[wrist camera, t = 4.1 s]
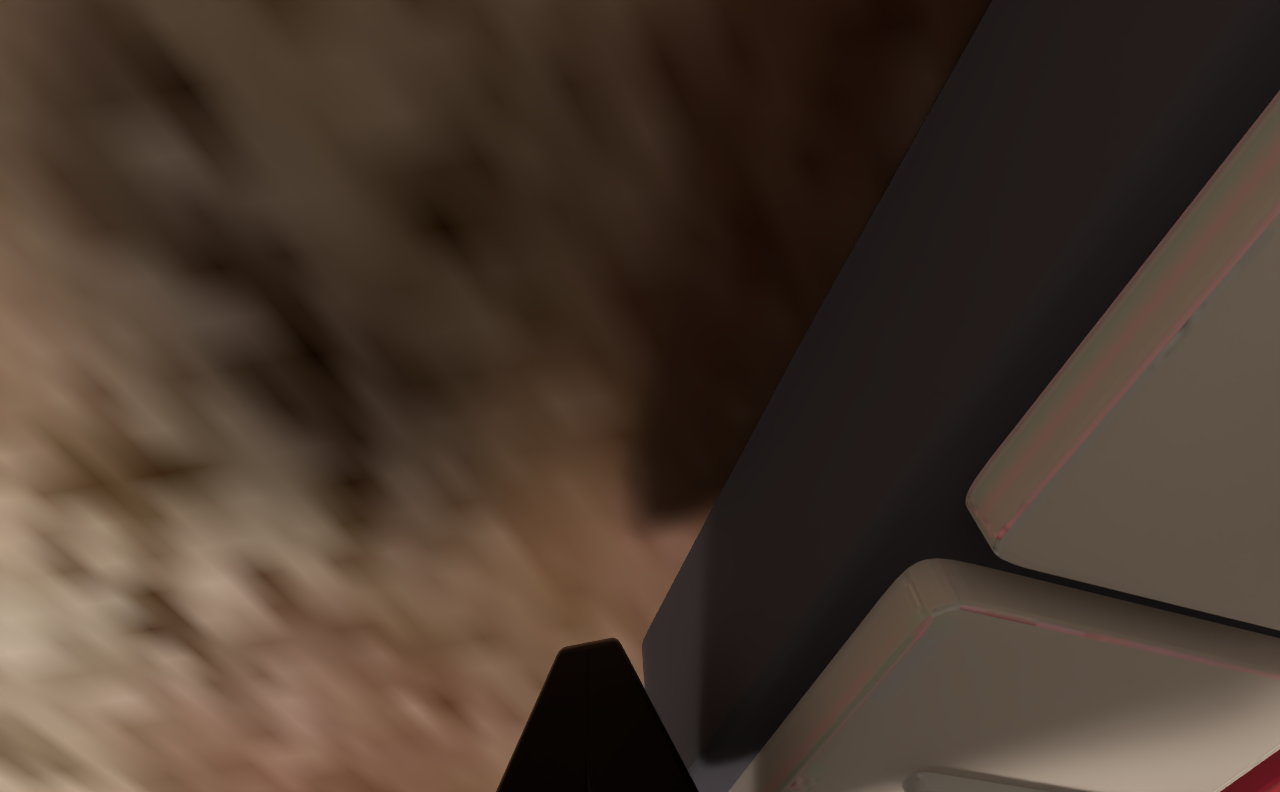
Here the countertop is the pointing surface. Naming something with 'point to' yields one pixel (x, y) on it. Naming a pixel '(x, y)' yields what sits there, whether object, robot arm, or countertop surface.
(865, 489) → the calculator
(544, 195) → the countertop surface
